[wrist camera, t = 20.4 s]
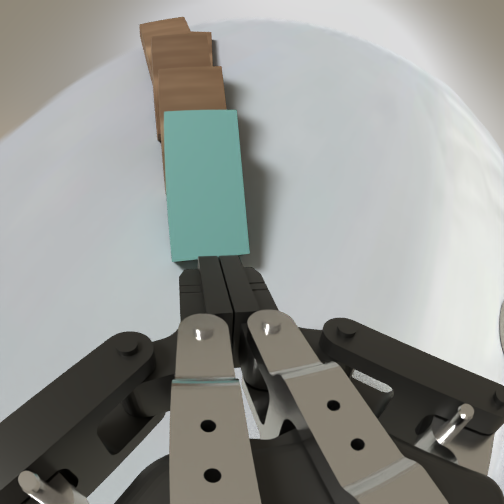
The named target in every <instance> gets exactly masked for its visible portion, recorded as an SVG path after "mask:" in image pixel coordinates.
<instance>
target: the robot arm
mask: <svg viewBox="0 0 504 504" xmlns="http://www.w3.org/2000/svg"><path fill="white" fill-rule="evenodd" d="M179 290H180V317H181V322H180V324H179V327H178V329H177V331H176V332H175V333H173V334H172V335H171V336H169V337H167V338H164V339H161V340H157V341H154V342H152V341H151V340H150V339H149V338H148V337H147V336H146V335H144V334H142V333H138V332H122V333H118V334H116V335H114V336H112V337H111V338H109V339H108V340H107V341H105V342H104V343H103V344H101V345H100V346H99V347H97V348H96V349H95V350H93V351H92V352H91V353H89V354H88V355H87V356H85V357H84V358H83V359H81V360H80V361H79V362H78V363H76V364H75V365H74V366H72V367H71V368H70V369H68V370H67V371H66V372H65V373H63V374H62V375H61V376H59V377H58V378H57V379H55V380H54V381H53V382H52V383H50V384H49V385H48V386H46V387H45V388H44V389H43V390H41V391H40V392H39V393H37V394H36V395H35V396H34V397H32V398H31V399H30V400H28V401H27V402H26V403H25V404H23V405H22V406H21V407H20V408H18V409H17V410H16V411H14V412H13V413H12V414H11V415H9V416H8V417H7V418H6V419H4V420H3V421H2V422H1V423H0V504H89V502H88V500H87V497H88V496H89V495H90V494H91V493H92V492H93V491H94V490H95V489H96V488H97V487H98V486H99V485H100V484H101V483H102V482H103V481H104V480H105V479H106V478H107V477H108V476H109V475H110V474H111V473H112V472H113V471H114V470H115V469H116V468H117V467H118V466H119V465H120V464H121V463H122V461H123V460H124V459H125V458H126V457H127V456H128V455H129V454H130V453H131V452H132V451H133V450H134V449H135V448H136V447H137V446H138V445H139V444H140V443H141V441H142V440H143V439H144V438H145V437H146V436H147V435H148V434H149V433H150V432H151V431H152V430H153V429H154V427H155V426H156V425H157V424H158V423H159V422H160V421H161V420H162V419H163V417H164V415H165V413H166V412H167V411H170V446H169V454H168V455H166V456H164V457H162V458H160V459H158V460H156V461H155V462H153V463H152V464H150V465H149V466H148V467H146V468H145V469H144V470H143V471H142V472H141V473H140V474H139V475H138V476H137V477H136V479H135V480H134V481H133V482H132V483H131V485H130V486H129V487H128V488H127V489H126V490H125V492H124V493H123V494H122V495H121V496H120V497H119V499H118V500H117V501H116V502H115V503H114V504H504V496H503V493H502V491H501V489H500V487H499V486H498V485H497V483H496V482H495V481H494V480H493V479H491V478H490V477H488V476H487V474H488V469H489V464H490V459H491V453H492V447H493V440H494V434H495V432H496V431H497V430H498V429H499V428H500V427H501V426H502V425H503V424H504V386H503V385H501V384H498V383H496V382H494V381H491V380H489V379H486V378H484V377H482V376H479V375H477V374H474V373H472V372H470V371H467V370H465V369H463V368H460V367H458V366H456V365H453V364H451V363H449V362H446V361H444V360H442V359H439V358H437V357H435V356H432V355H430V354H428V353H425V352H423V351H421V350H419V349H416V348H414V347H412V346H409V345H407V344H405V343H403V342H400V341H398V340H396V339H394V338H391V337H389V336H387V335H385V334H382V333H380V332H378V331H376V330H373V329H371V328H369V327H367V326H365V325H362V324H360V323H358V322H356V321H353V320H351V319H347V318H333V319H330V320H328V321H327V322H326V323H325V324H324V327H323V330H314V329H305V328H300V327H297V325H296V324H295V322H294V320H293V319H292V318H291V317H290V316H288V315H287V314H285V313H283V312H280V311H279V310H278V308H277V306H276V304H275V302H274V300H273V298H272V296H271V294H270V292H269V290H268V288H267V286H266V284H265V282H264V280H263V278H262V276H261V274H260V273H259V272H257V271H256V270H255V269H254V268H252V267H247V268H243V266H242V264H241V261H240V259H239V256H238V255H223V256H198V269H186V270H184V271H183V272H182V274H181V275H180V277H179ZM500 337H501V343H502V348H503V351H504V301H503V304H502V308H501V314H500ZM239 367H241V370H242V388H243V391H244V393H245V396H246V399H247V401H248V404H249V407H250V409H251V412H252V414H253V417H254V420H255V422H256V425H257V427H258V430H259V434H260V439H249V435H248V429H247V423H246V417H245V411H244V405H243V399H242V393H241V387H240V382H239V379H236V378H235V372H234V368H239ZM355 369H356V370H358V371H360V372H362V373H364V374H366V375H368V376H370V377H372V378H374V379H376V380H379V381H381V382H383V383H385V384H387V385H389V386H390V387H391V388H392V391H391V392H387V393H385V392H381V391H379V390H377V389H375V388H373V387H370V386H368V385H366V384H364V383H362V382H360V381H358V380H356V379H354V378H352V374H353V372H354V370H355Z"/></svg>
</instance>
